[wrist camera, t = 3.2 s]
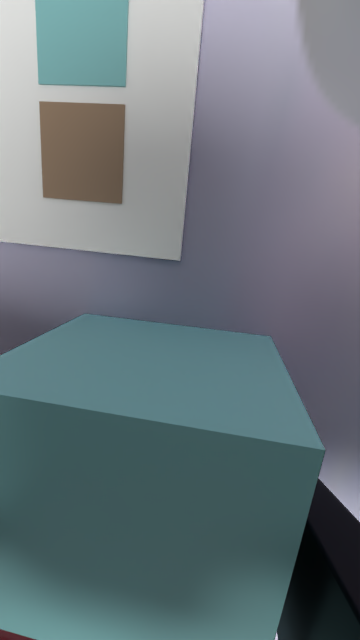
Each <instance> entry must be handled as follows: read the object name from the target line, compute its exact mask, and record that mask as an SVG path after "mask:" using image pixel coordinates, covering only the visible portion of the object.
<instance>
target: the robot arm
mask: <svg viewBox="0 0 360 640" xmlns="http://www.w3.org/2000/svg"><path fill="white" fill-rule="evenodd" d="M277 635H278V640H360V522H359V521H358V520H357V519H356V518H355V517H354V516H353V515H352V514H351V513H350V511H349V510H348V509H347V508H346V507H345V506H344V505H343V504H342V503H341V502H340V501H339V500H338V499H337V498H336V497H335V495H334V494H333V493H332V492H331V491H330V490H329V489H328V488H327V487H326V486H325V485H324V484H323V483H322V482H321V481H320V480H319V478H318V480H317V484H316V487H315V491H314V495H313V498H312V502H311V506H310V509H309V513H308V517H307V521H306V524H305V528H304V532H303V535H302V539H301V543H300V547H299V550H298V554H297V558H296V561H295V565H294V569H293V573H292V576H291V580H290V584H289V587H288V591H287V595H286V599H285V602H284V606H283V610H282V613H281V617H280V621H279V625H278V628H277Z"/></svg>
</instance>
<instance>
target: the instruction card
mask: <svg viewBox="0 0 360 640" xmlns="http://www.w3.org/2000/svg"><path fill="white" fill-rule="evenodd" d="M203 10H204V0H0V242H9V243H18V244H28V245H37V246H46V247H56V248H65V249H74V250H84V251H93V252H103V253H112V254H121V255H131V256H140V257H150V258H159V259H168V260H178V261H180V260H181V250H182V239H183V228H184V217H185V206H186V195H187V185H188V174H189V163H190V152H191V141H192V130H193V119H194V108H195V97H196V87H197V76H198V65H199V54H200V43H201V32H202V21H203Z"/></svg>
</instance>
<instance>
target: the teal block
mask: <svg viewBox="0 0 360 640" xmlns="http://www.w3.org/2000/svg"><path fill="white" fill-rule="evenodd" d="M324 454H325V448H324V446H323V444H322V442H321V440H320V438H319V436H318V434H317V432H316V429H315V427H314V425H313V423H312V421H311V419H310V417H309V415H308V413H307V411H306V409H305V407H304V405H303V402H302V400H301V398H300V396H299V394H298V392H297V390H296V388H295V386H294V384H293V382H292V380H291V377H290V375H289V373H288V371H287V369H286V367H285V365H284V363H283V361H282V359H281V357H280V355H279V352H278V350H277V348H276V346H275V344H274V342H273V340H272V338H271V336H264V335H256V334H248V333H240V332H232V331H223V330H215V329H207V328H199V327H191V326H183V325H174V324H166V323H158V322H150V321H142V320H134V319H125V318H117V317H109V316H101V315H93V314H83V315H81V316H79V317H77V318H75V319H73V320H71V321H69V322H67V323H65V324H63V325H61V326H59V327H57V328H55V329H52V330H50V331H48V332H46V333H44V334H42V335H40V336H38V337H36V338H34V339H32V340H30V341H28V342H26V343H24V344H22V345H20V346H18V347H16V348H14V349H12V350H10V351H8V352H6V353H4V354H2V355H0V629H2V630H5V631H9V632H12V633H16V634H19V635H22V636H26V637H29V638H33V639H36V640H274V639H275V636H276V632H277V628H278V625H279V621H280V617H281V613H282V610H283V606H284V602H285V599H286V595H287V591H288V587H289V584H290V580H291V576H292V573H293V569H294V565H295V561H296V558H297V554H298V550H299V547H300V543H301V539H302V535H303V532H304V528H305V524H306V521H307V517H308V513H309V509H310V506H311V502H312V498H313V495H314V491H315V487H316V484H317V480H318V476H319V472H320V469H321V465H322V461H323V458H324Z"/></svg>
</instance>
